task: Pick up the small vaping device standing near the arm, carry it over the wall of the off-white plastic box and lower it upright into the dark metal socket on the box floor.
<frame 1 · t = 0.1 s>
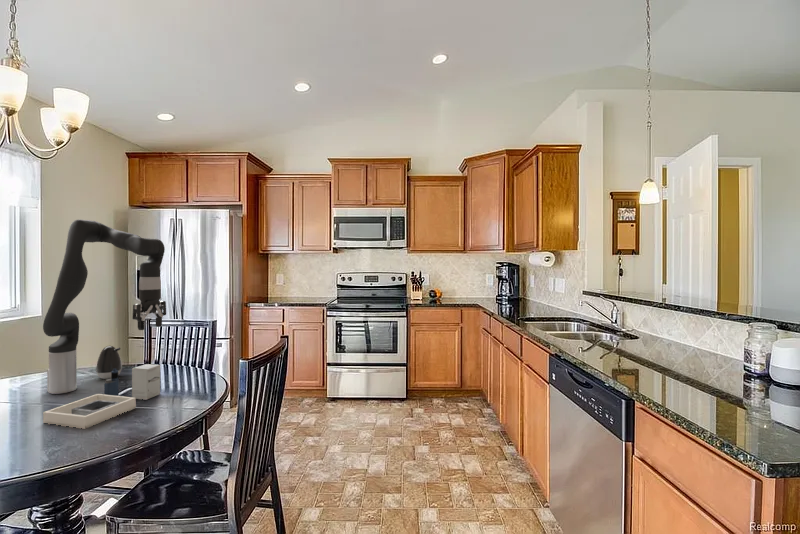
hand: (150, 328, 167), 29 cm above the table, tool pointing down, fingers open, 8 cm apart
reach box: (91, 415, 150), on the table
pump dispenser: (109, 377, 198), on the table
inlet socket: (96, 416, 150), resting on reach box
supplement box: (146, 397, 171), on the table
vaping device: (111, 399, 168), on the table
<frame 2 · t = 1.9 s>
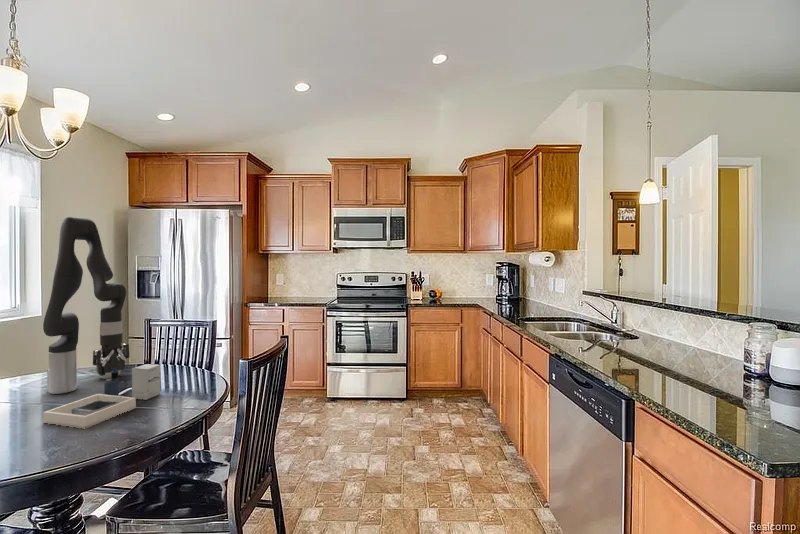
hand: (112, 372, 168), 11 cm above the table, tool pointing down, fingers open, 8 cm apart
nothing on the table moved.
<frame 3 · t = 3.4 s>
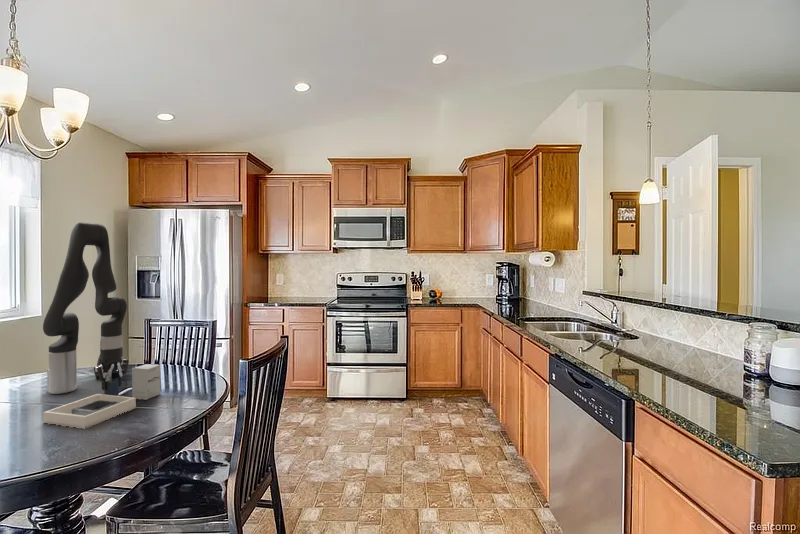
hand: (111, 388, 168), 4 cm above the table, tool pointing down, fingers closed on vaping device, 5 cm apart
vaping device: (111, 399, 168), on the table, touching gripper
everything else where it was.
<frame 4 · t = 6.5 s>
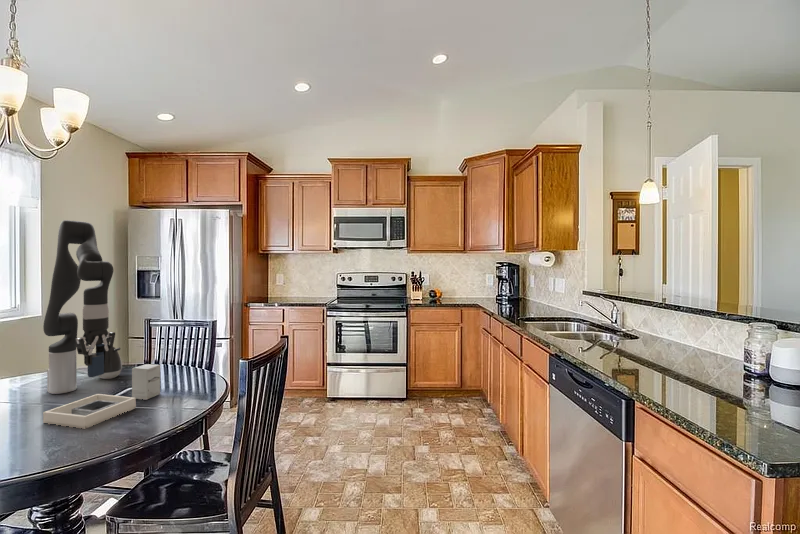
hand: (96, 363, 150), 19 cm above the table, tool pointing down, fingers closed on vaping device, 5 cm apart
vaping device: (96, 376, 150), point 15 cm above the table, touching gripper
everything else where it was.
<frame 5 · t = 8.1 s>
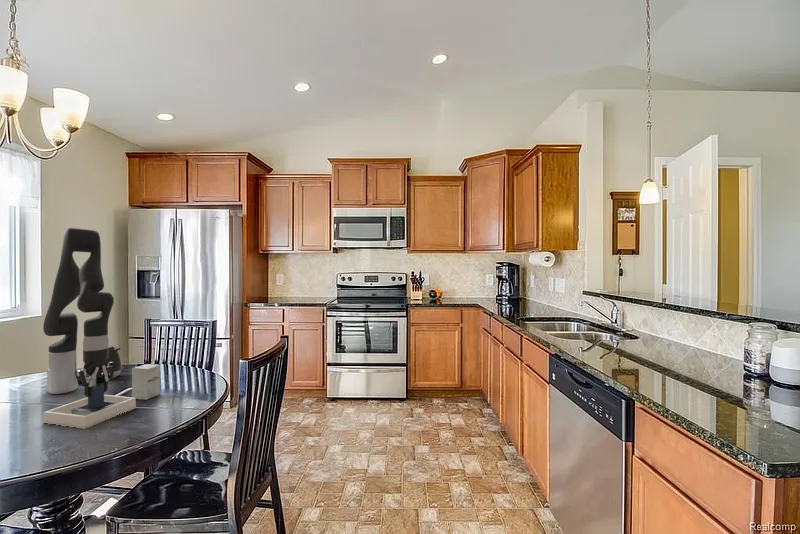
hand: (96, 393, 150), 8 cm above the table, tool pointing down, fingers closed on vaping device, 5 cm apart
vaping device: (96, 406, 150), point 3 cm above the table, touching gripper
everything else where it was.
when the fingers open (7 cm above the table, at t = 9.5 s): vaping device drops 1 cm, resting on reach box.
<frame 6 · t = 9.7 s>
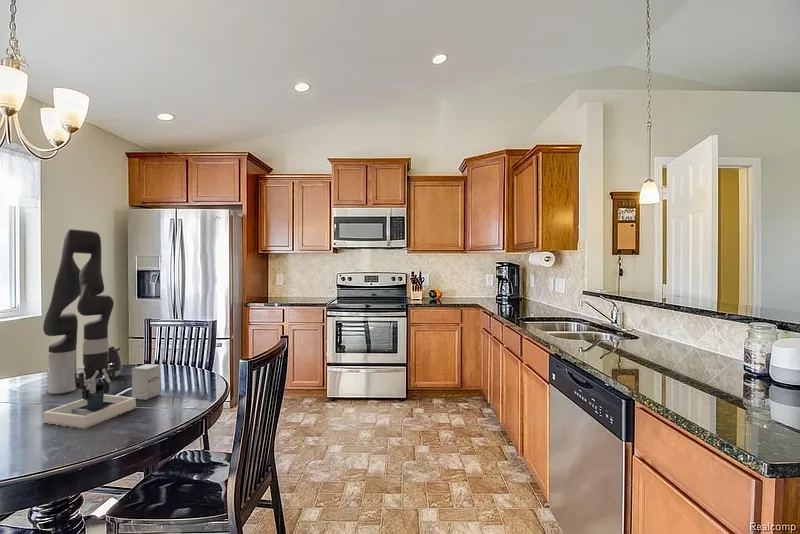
hand: (96, 396, 150), 7 cm above the table, tool pointing down, fingers open, 6 cm apart
vaping device: (95, 414, 150), point 1 cm above the table, touching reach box
everything else where it was.
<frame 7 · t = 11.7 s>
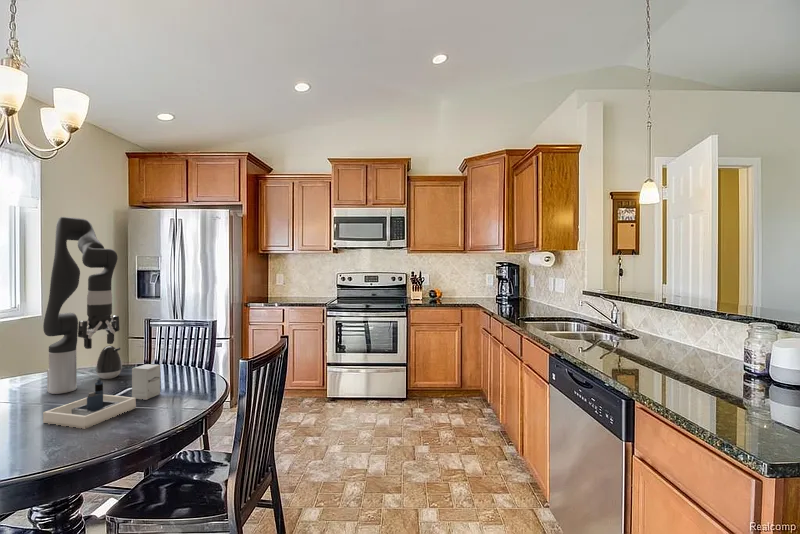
hand: (99, 346, 153), 25 cm above the table, tool pointing down, fingers open, 8 cm apart
nothing on the table moved.
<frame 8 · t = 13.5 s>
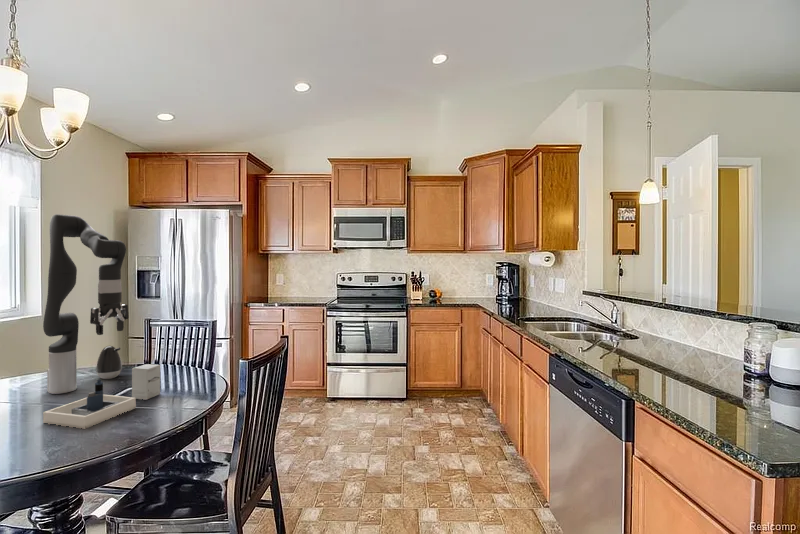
hand: (110, 332, 161), 28 cm above the table, tool pointing down, fingers open, 8 cm apart
nothing on the table moved.
at the end: vaping device inside the target area on the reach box (0.3 cm from its centre), point 0.6 cm above the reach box's base; vaping device tilted 0°; the gripper is holding nothing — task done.
